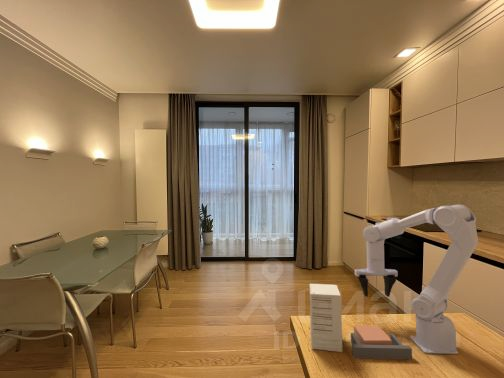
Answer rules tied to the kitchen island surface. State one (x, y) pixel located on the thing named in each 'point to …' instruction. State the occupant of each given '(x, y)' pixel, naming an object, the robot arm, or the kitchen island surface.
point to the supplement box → (325, 317)
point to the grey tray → (381, 349)
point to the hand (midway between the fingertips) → (376, 295)
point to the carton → (371, 335)
